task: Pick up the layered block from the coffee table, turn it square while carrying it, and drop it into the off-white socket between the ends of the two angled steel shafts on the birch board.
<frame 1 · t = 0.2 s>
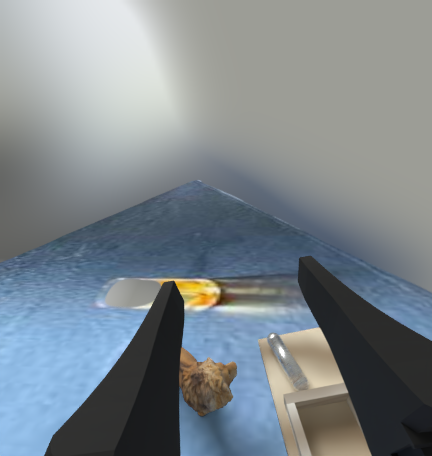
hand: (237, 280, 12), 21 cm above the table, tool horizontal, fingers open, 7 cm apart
lion figurine: (196, 377, 27), on the table
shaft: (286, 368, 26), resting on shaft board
shaft board: (333, 446, 20), on the table
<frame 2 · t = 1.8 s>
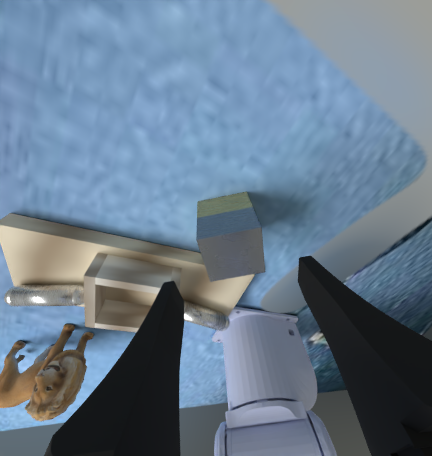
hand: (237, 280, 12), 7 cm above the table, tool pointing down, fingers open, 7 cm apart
lion figurine: (60, 332, 27), on the table
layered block: (225, 216, 18), on the table
shaft board: (140, 274, 21), on the table
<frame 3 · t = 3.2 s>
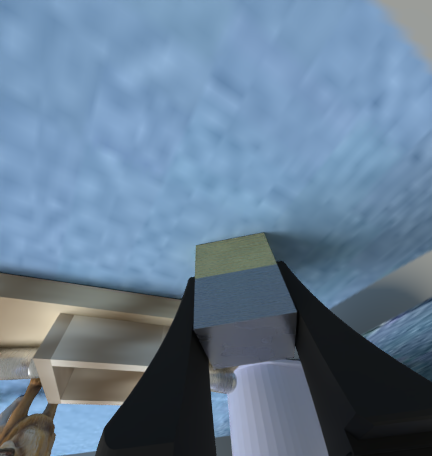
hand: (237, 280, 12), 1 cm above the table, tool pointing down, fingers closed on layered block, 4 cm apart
lion figurine: (29, 383, 22), on the table
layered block: (234, 263, 13), on the table, touching gripper
shaft board: (123, 326, 16), on the table
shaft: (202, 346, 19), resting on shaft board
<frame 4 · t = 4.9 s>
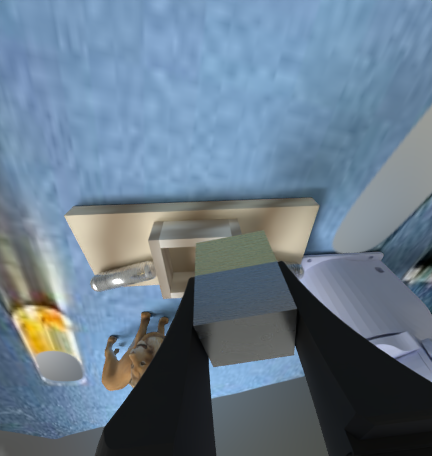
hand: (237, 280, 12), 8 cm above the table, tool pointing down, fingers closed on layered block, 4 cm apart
lion figurine: (140, 322, 29), on the table
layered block: (234, 260, 13), point 7 cm above the table, touching gripper
shaft board: (198, 241, 21), on the table
when the fingers open (5 cm above the table, at t = 6.6 s): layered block drops 2 cm, resting on shaft board.
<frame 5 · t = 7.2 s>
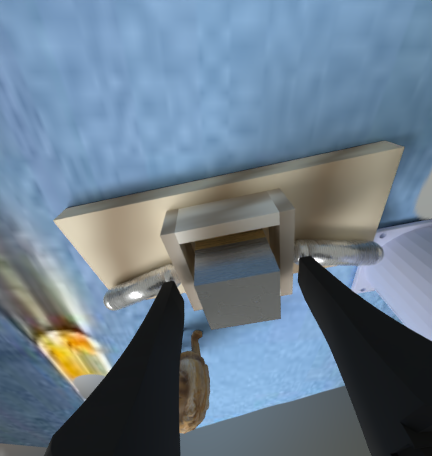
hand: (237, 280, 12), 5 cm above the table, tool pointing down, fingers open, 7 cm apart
lion figurine: (171, 338, 25), on the table
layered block: (230, 242, 15), point 1 cm above the table, touching shaft board
shaft board: (228, 230, 16), on the table
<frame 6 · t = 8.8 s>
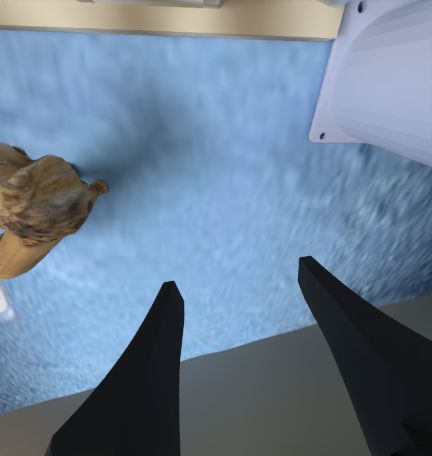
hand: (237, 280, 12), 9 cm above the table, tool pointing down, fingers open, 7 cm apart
lion figurine: (64, 194, 18), on the table
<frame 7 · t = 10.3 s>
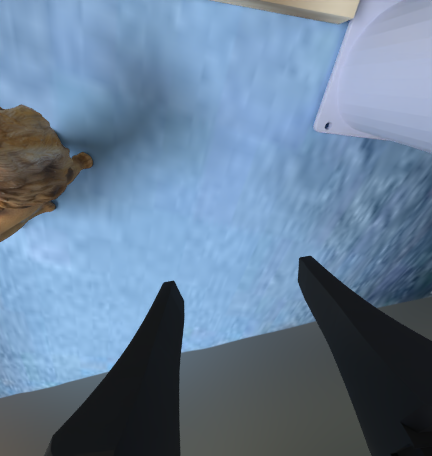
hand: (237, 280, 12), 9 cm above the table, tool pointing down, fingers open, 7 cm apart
lion figurine: (44, 166, 17), on the table
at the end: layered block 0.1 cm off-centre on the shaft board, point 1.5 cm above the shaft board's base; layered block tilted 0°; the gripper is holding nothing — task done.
